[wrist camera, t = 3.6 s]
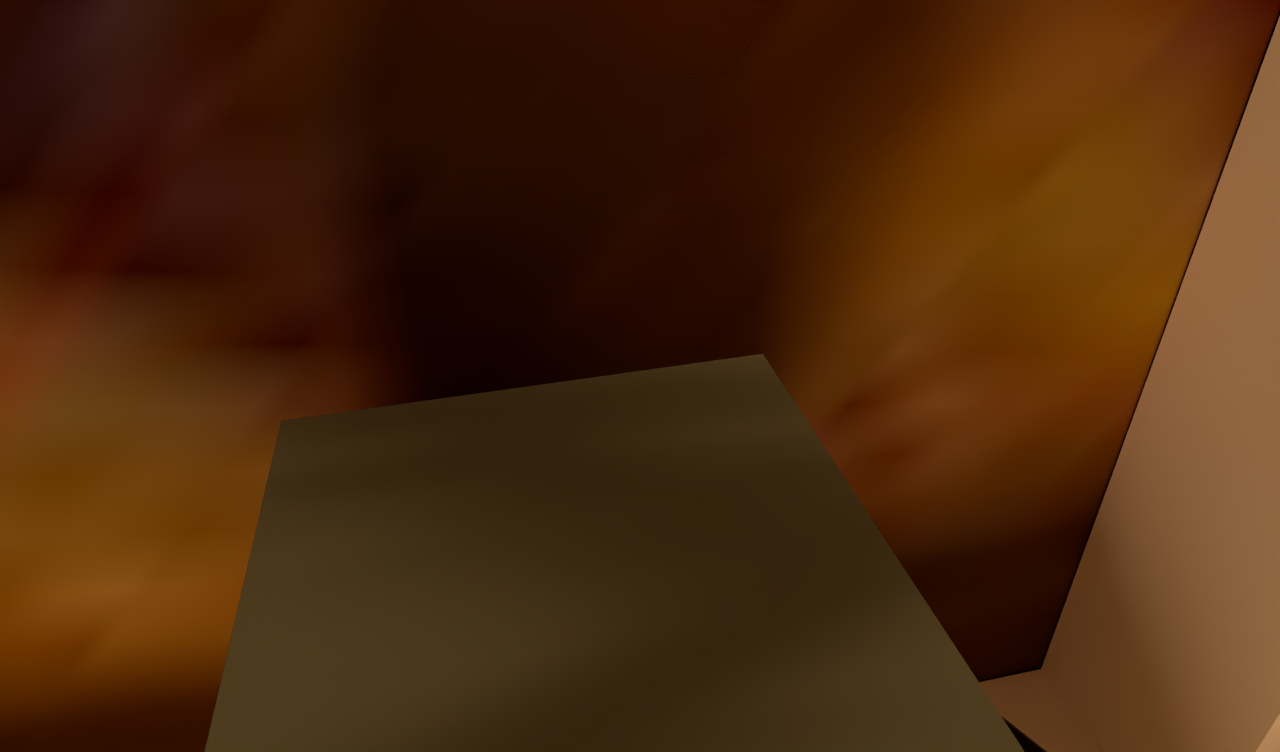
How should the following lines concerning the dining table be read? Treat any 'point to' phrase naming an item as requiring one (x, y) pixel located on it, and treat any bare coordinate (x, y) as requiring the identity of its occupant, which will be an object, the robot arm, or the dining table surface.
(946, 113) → the dining table surface
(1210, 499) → the wooden frame
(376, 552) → the block
